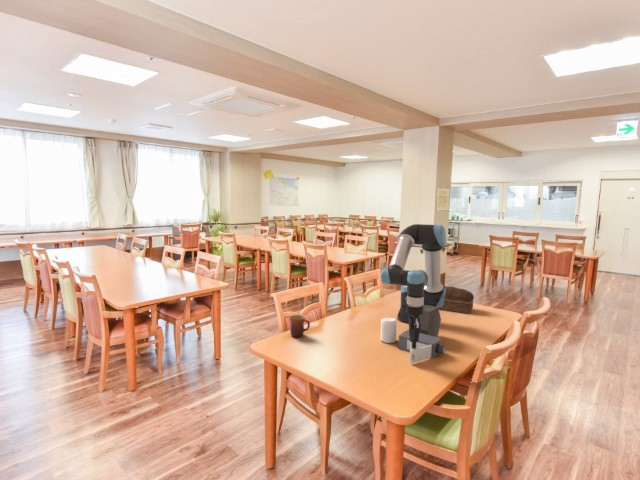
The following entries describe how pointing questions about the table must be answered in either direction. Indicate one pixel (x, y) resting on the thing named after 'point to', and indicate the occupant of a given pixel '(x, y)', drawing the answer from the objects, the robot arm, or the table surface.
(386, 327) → the beverage can
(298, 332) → the mug
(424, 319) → the grey bevelled block
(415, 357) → the door
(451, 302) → the bread
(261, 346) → the table surface
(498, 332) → the table surface
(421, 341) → the camcorder
